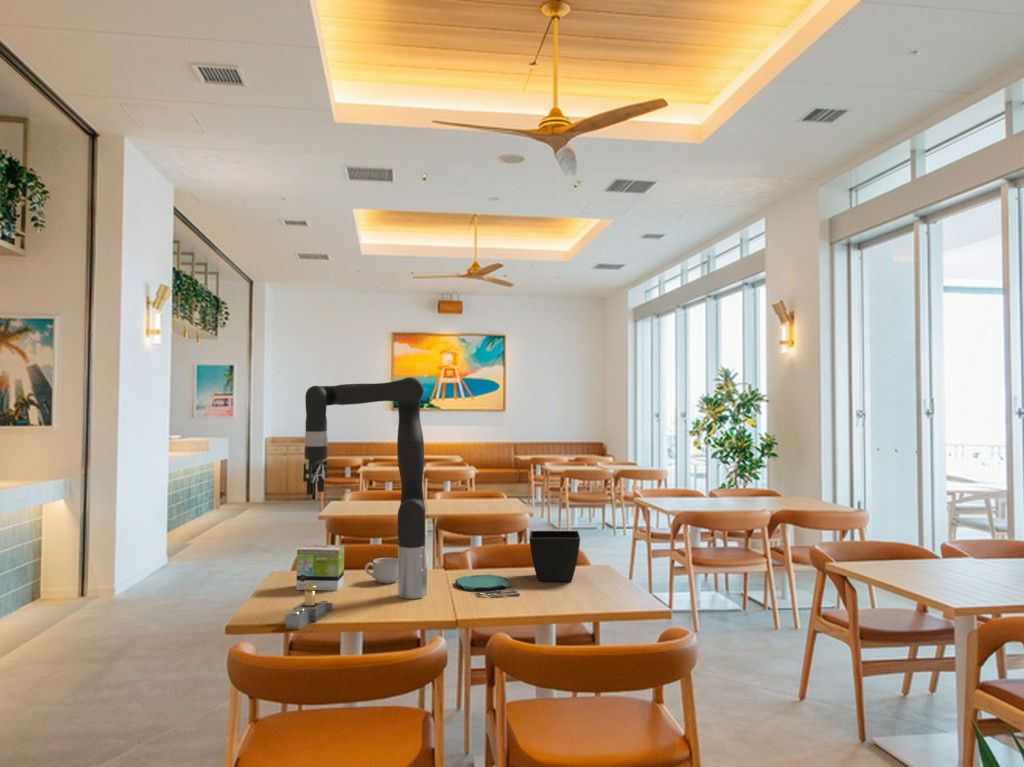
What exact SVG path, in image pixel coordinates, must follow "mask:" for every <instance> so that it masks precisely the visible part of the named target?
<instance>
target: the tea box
mask: <svg viewBox="0 0 1024 767" xmlns="http://www.w3.org/2000/svg"><path fill="white" fill-rule="evenodd" d="M344 577H345V545H340V544H339V545H338V544H337V545H336V544H328V545H327V544H323V545H322V544H304V545H302V546H301V547H300V548H298V549H297V551H296V591H305V590H304V585H309V584H314V585H316V589H315V591H331V592H338V591H339V590H340V589H341V587H343V585H344V579H345V578H344Z"/></svg>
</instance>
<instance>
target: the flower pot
mask: <svg viewBox="0 0 1024 767" xmlns="http://www.w3.org/2000/svg"><path fill="white" fill-rule="evenodd" d="M528 540H529V547H530V554H531V559H532V563H533V568H534V572H535V576H536V579H537V581H538V580H539V582H571V581H573V578H574V574H575V570H576V567H577V562H578V557H579V551H580V543H581V536H580V533H579V531H578V530H530V532H529V539H528Z"/></svg>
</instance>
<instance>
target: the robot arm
mask: <svg viewBox="0 0 1024 767" xmlns="http://www.w3.org/2000/svg"><path fill="white" fill-rule="evenodd" d="M423 395H424V385H423V384H422V382H421V380H419V379H417V378H416V377H412V376H410V377H404V378H402V379H399V380H395V381H388V382H380V383H347V384H346V383H344V384H343V383H342V384H338V385H313V386H310V387H308V388H307V390H306V391H305V396H304V397H305V398H304V399H305V414H306V415H305V432H304V434H305V435H304V454H303V455H304V456H303V457H304V459H305V460H308V463H306V462H305V463H304V464H303V472H302V473H303V477H302V480H303V482H305V484H306V495H314V494H315V480H316V479H317V488H316V490H317V492H318V493H323V492H325V481H326V479H328V477H329V476H328V475H329V474H328V470H329V469H328V468H329V467H328V461H327V459H328V432H327V431H328V422H327V420H328V419H327V406H334V405H336V406H337V405H338V406H347V405H348V406H349V405H361V404H369V403H376V402H397V409H398V410H397V411H398V426H397V440H396V444H397V447H396V448H397V449H396V450H397V452H396V454H397V466H398V471H399V478H400V483H401V484H400V485H401V494H400V505H399V508H398V510H397V543H398V546H397V549H398V552H397V557H398V558H397V559H398V580H397V597H398V598H401V599H406V600H407V599H408V600H415V599H423V598H424V597H425V596H427V593H428V592H427V591H428V581H427V580H428V567H427V566H426V511H427V510H426V505H425V498H424V488H423V477H424V468H425V467H424V466H425V442H424V433H423V429H422V424H421V418H420V417H421V416H420V414H421V413H420V412H421V399H422V397H423Z"/></svg>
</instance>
